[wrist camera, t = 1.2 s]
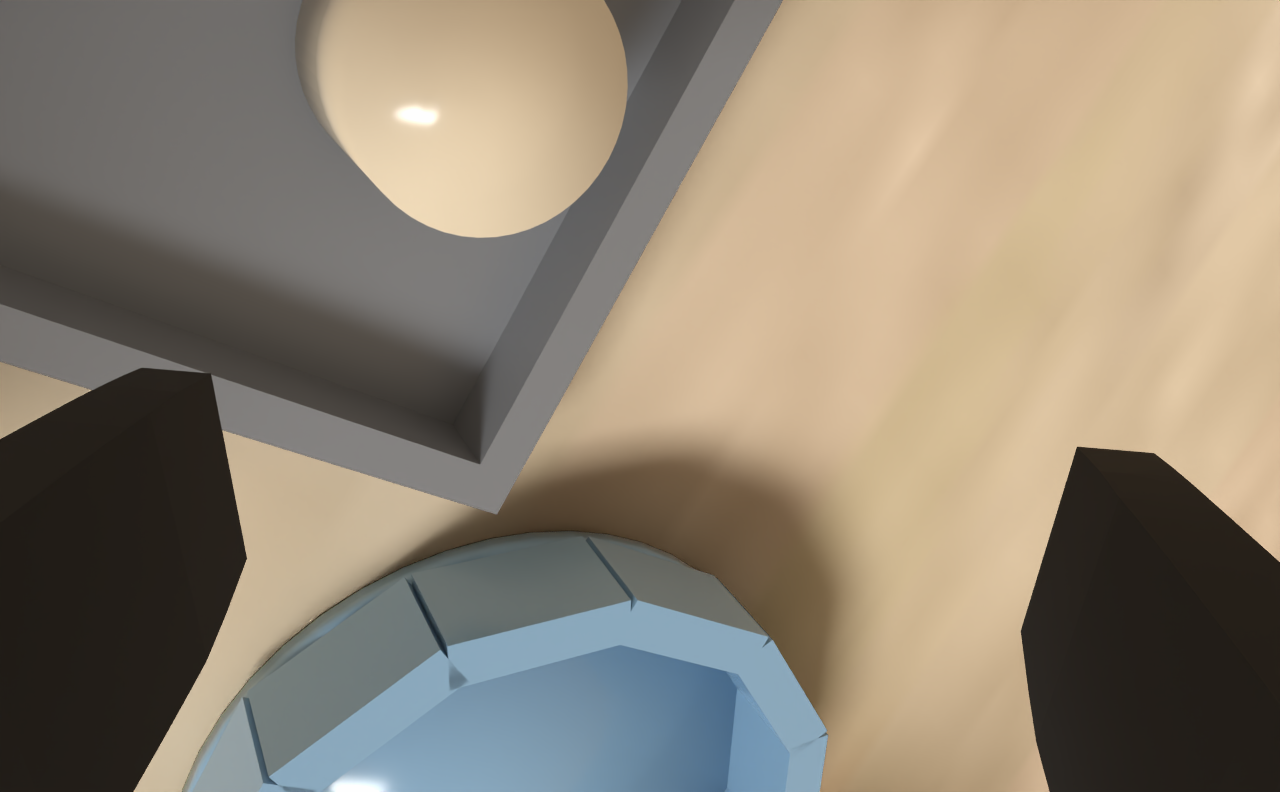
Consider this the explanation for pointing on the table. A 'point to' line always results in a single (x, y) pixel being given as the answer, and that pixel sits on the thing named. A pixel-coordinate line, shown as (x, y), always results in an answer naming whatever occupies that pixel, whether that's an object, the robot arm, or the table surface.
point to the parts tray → (314, 235)
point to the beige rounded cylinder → (468, 102)
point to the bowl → (524, 683)
